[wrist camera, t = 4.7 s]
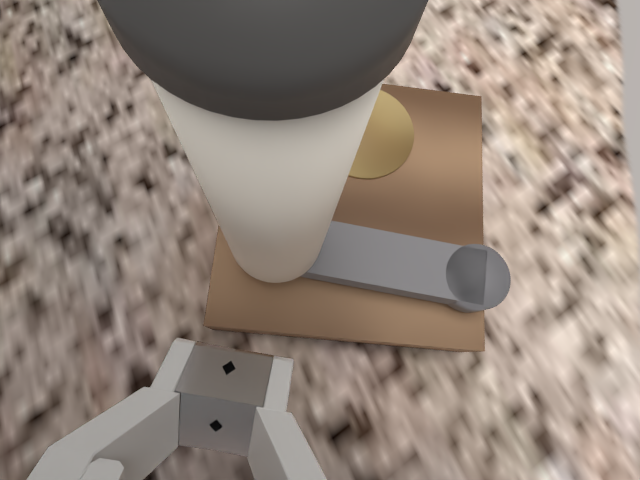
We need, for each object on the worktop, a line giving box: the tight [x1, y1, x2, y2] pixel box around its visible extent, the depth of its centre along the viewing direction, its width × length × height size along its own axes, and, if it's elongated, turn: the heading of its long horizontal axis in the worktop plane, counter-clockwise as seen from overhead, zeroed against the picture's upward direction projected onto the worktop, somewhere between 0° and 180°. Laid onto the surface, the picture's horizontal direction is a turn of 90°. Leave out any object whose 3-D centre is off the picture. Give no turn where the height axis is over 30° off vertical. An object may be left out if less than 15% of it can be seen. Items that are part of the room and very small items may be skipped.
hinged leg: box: [97, 0, 510, 313], centre depth 11 cm, size 11×4×14 cm, turn 80°
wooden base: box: [203, 84, 485, 352], centre depth 20 cm, size 12×12×3 cm
